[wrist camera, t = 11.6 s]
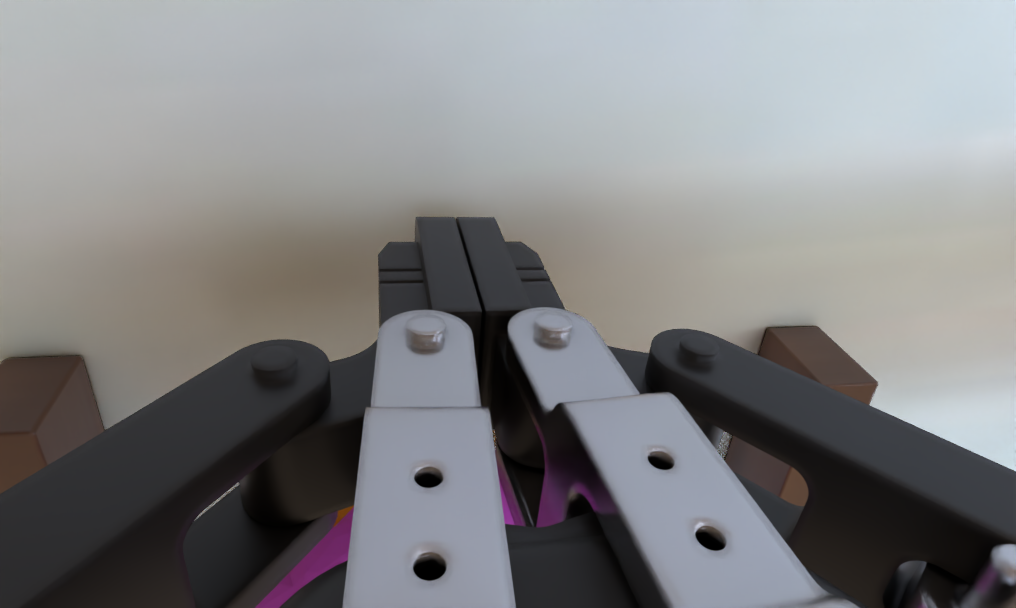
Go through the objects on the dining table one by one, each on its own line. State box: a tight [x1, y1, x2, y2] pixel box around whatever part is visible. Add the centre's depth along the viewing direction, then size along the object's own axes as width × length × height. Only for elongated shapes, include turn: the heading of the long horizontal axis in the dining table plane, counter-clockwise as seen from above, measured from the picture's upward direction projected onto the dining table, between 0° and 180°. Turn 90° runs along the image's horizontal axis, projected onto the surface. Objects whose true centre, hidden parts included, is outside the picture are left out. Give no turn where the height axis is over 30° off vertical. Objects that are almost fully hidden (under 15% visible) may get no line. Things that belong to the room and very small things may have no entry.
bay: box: [0, 326, 878, 506], centre depth 19 cm, size 19×16×2 cm
